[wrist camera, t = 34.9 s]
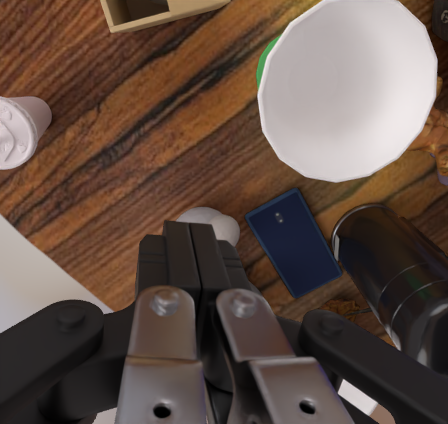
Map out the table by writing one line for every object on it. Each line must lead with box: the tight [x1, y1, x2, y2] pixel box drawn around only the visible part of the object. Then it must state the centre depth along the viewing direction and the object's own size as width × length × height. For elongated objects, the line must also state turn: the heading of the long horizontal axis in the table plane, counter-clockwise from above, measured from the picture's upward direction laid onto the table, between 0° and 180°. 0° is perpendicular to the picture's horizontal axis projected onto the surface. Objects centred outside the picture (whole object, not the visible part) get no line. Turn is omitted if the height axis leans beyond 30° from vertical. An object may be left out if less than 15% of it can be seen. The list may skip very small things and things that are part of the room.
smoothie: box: [0, 96, 52, 169], centre depth 37 cm, size 6×6×14 cm
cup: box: [256, 0, 438, 183], centre depth 37 cm, size 14×14×16 cm
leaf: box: [318, 298, 360, 322], centre depth 58 cm, size 6×7×2 cm
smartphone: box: [245, 188, 342, 298], centre depth 53 cm, size 8×1×15 cm
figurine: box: [406, 77, 448, 177], centre depth 42 cm, size 5×6×12 cm
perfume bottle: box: [176, 207, 240, 247], centre depth 45 cm, size 8×10×12 cm
